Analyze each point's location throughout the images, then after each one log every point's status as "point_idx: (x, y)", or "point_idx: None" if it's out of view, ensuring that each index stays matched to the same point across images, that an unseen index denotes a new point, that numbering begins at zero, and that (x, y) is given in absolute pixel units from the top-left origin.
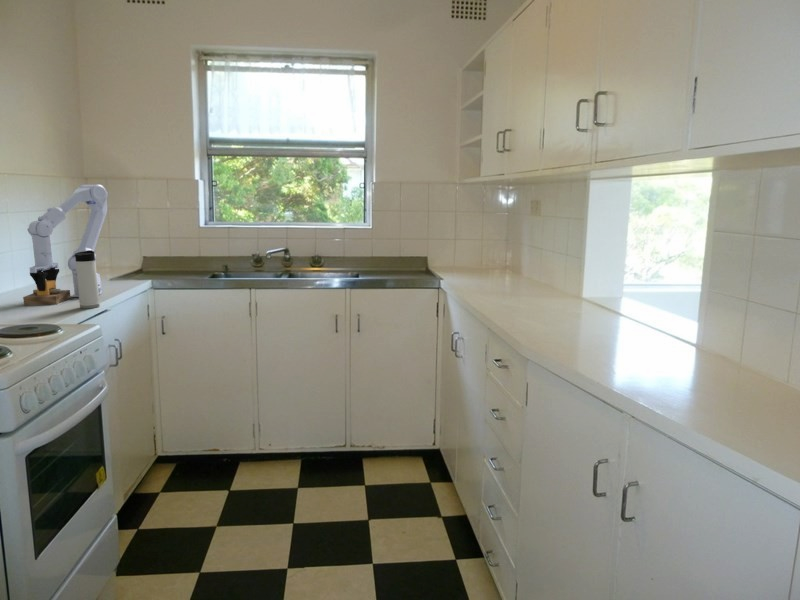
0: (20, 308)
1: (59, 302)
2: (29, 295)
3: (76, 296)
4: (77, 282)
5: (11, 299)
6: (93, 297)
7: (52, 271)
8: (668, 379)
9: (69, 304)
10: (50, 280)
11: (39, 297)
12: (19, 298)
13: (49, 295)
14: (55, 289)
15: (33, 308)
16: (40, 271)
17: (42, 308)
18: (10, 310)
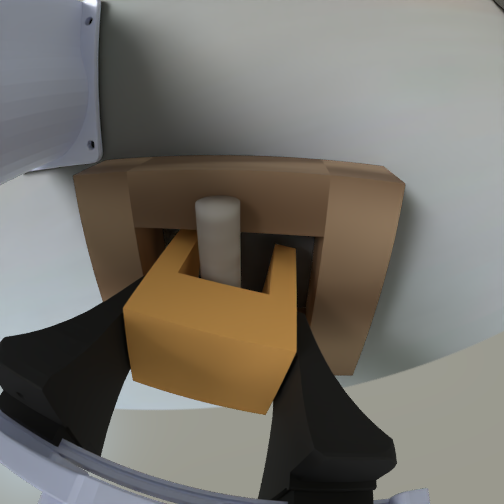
0: (432, 325)
1: (328, 160)
2: None
3: (98, 121)
4: (13, 127)
5: (163, 400)
6: None
7: (72, 404)
8: None
9: (410, 74)
10: (135, 345)
11: (377, 297)
12: (139, 383)
13: (345, 247)
14: (226, 244)
15: (465, 267)
16: (325, 500)
17: (487, 220)
18: (457, 342)
